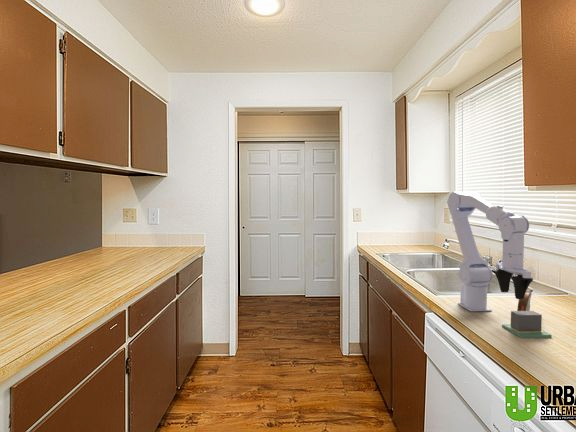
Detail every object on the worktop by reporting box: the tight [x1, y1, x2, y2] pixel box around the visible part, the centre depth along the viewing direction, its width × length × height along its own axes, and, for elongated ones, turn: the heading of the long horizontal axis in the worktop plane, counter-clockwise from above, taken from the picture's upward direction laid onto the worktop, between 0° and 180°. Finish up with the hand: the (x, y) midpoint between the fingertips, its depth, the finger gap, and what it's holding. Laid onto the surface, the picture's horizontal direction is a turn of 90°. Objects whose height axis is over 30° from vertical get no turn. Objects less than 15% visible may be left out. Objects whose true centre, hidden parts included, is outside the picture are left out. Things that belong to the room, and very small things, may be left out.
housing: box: [510, 310, 543, 332], centre depth 108 cm, size 4×7×5 cm, turn 90°
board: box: [501, 323, 552, 339], centre depth 108 cm, size 9×9×3 cm
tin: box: [516, 290, 532, 311], centre depth 121 cm, size 15×3×8 cm, turn 141°
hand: (511, 295), depth 114 cm, fingers open, 7 cm apart
